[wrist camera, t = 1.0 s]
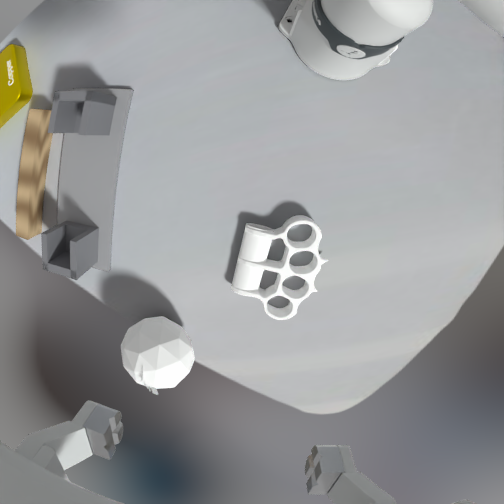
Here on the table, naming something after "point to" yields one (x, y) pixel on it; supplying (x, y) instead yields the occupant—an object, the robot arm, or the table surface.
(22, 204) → the oak slat
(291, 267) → the knuckle duster
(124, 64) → the table surface
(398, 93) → the table surface
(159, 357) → the geodesic sphere
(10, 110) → the element tile
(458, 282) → the table surface
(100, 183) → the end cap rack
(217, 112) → the table surface
